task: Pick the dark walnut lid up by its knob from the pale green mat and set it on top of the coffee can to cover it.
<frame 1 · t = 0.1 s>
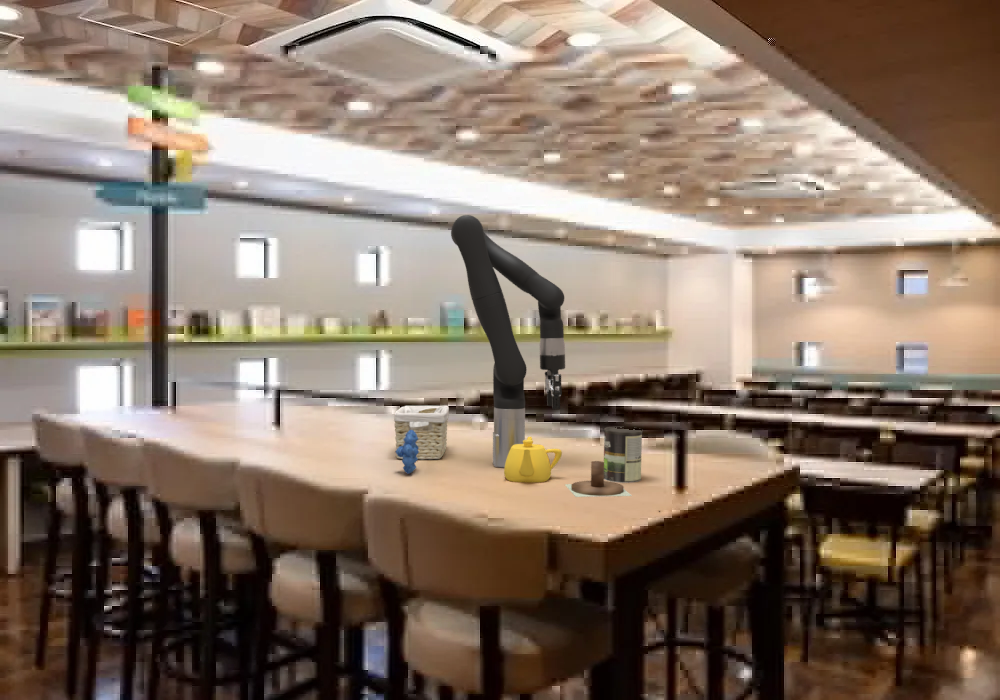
hand: (553, 407, 227), 17 cm above the table, tool pointing down, fingers open, 8 cm apart
teapot: (532, 480, 206), on the table
grapes: (407, 473, 214), on the table
lid: (597, 489, 191), point 1 cm above the table, touching mat
coffee can: (622, 481, 205), on the table
storage basket: (422, 454, 245), on the table
mat: (597, 492, 192), on the table
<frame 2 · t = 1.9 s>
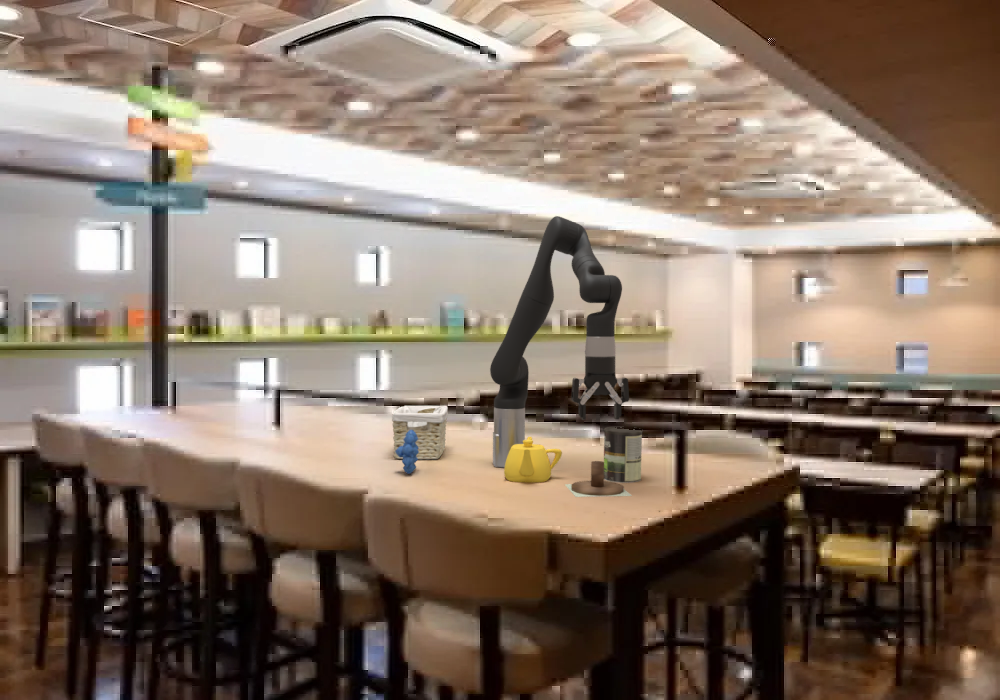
hand: (600, 419, 191), 18 cm above the table, tool pointing down, fingers open, 8 cm apart
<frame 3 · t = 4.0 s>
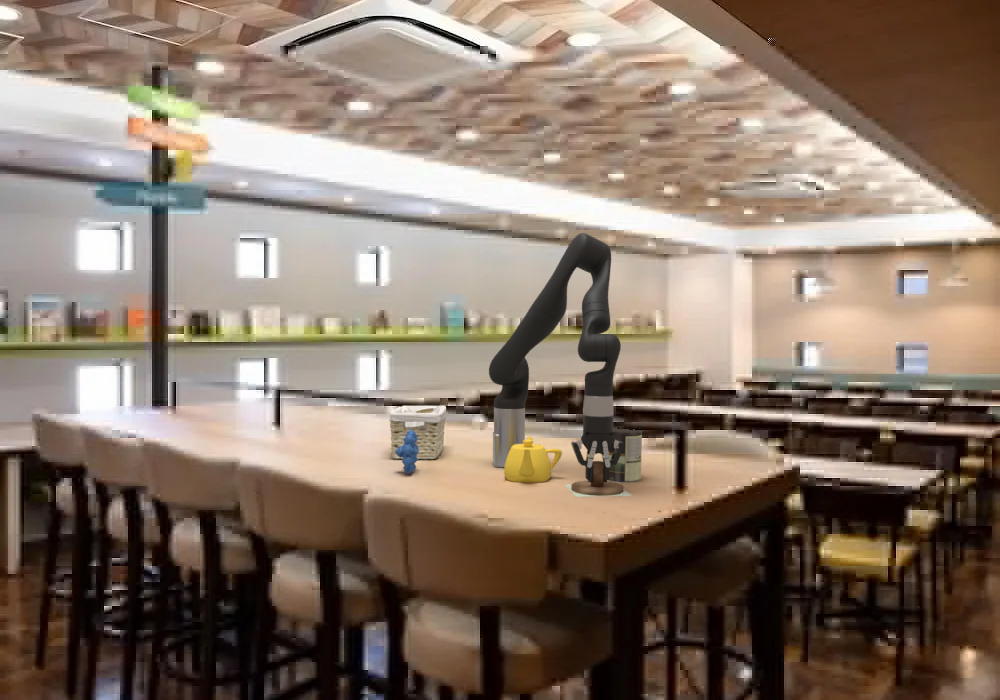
hand: (597, 481, 191), 3 cm above the table, tool pointing down, fingers closed on lid, 3 cm apart
lid: (597, 489, 191), point 1 cm above the table, touching gripper, mat
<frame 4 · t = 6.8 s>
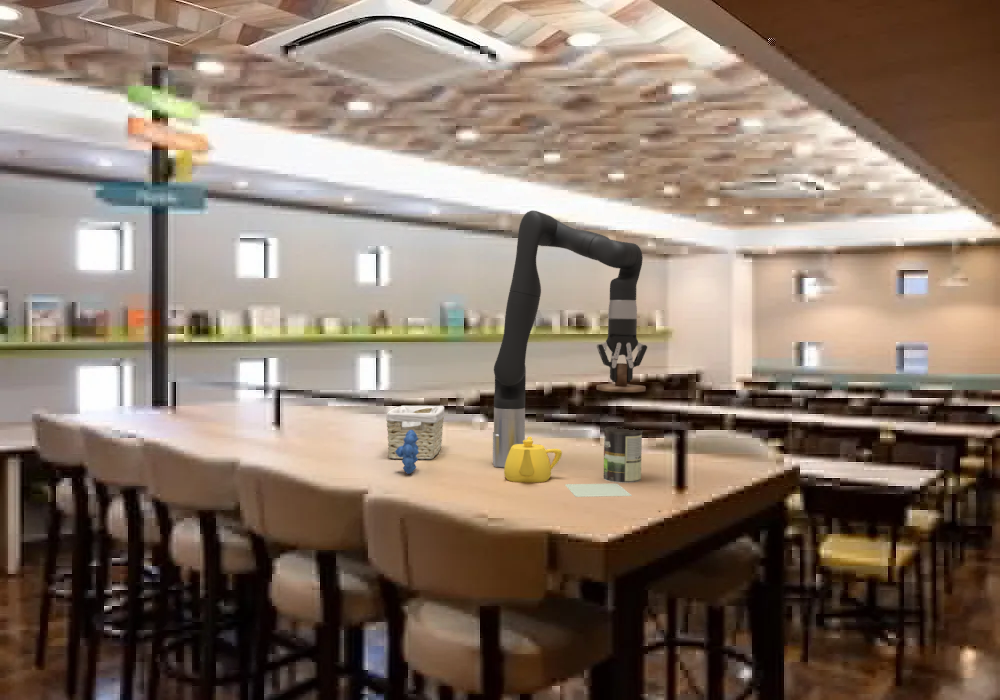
hand: (621, 381, 203), 27 cm above the table, tool pointing down, fingers closed on lid, 3 cm apart
lid: (620, 389, 203), point 25 cm above the table, touching gripper
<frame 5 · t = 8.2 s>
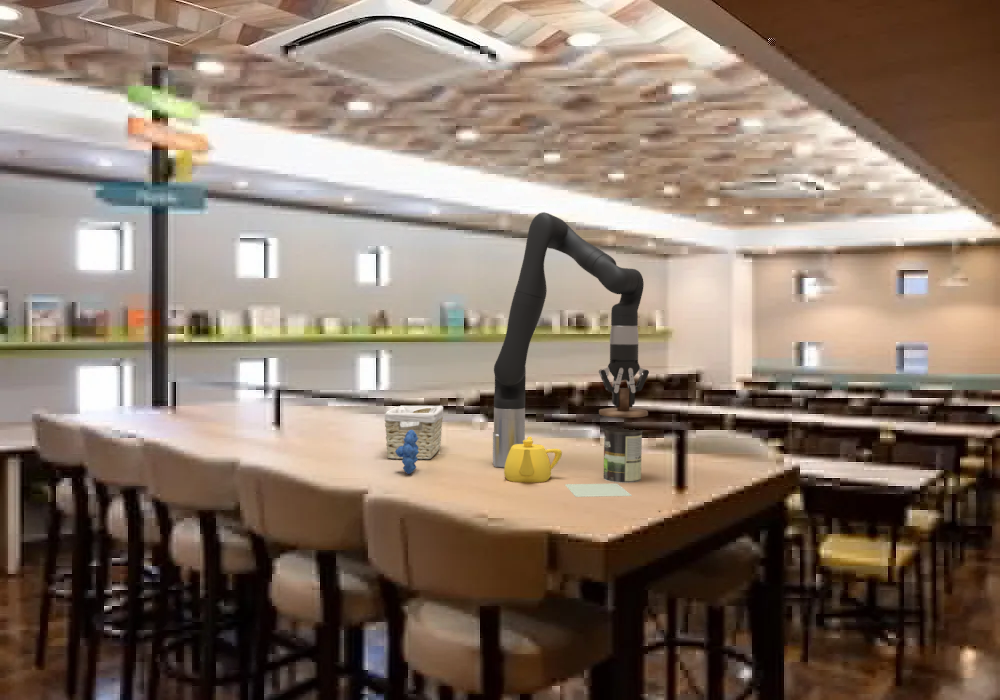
hand: (623, 406, 205), 20 cm above the table, tool pointing down, fingers closed on lid, 3 cm apart
lid: (623, 414, 205), point 18 cm above the table, touching gripper
when the fingers open (17 cm above the table, at t = 9.5 s): lid stays where it is, resting on coffee can.
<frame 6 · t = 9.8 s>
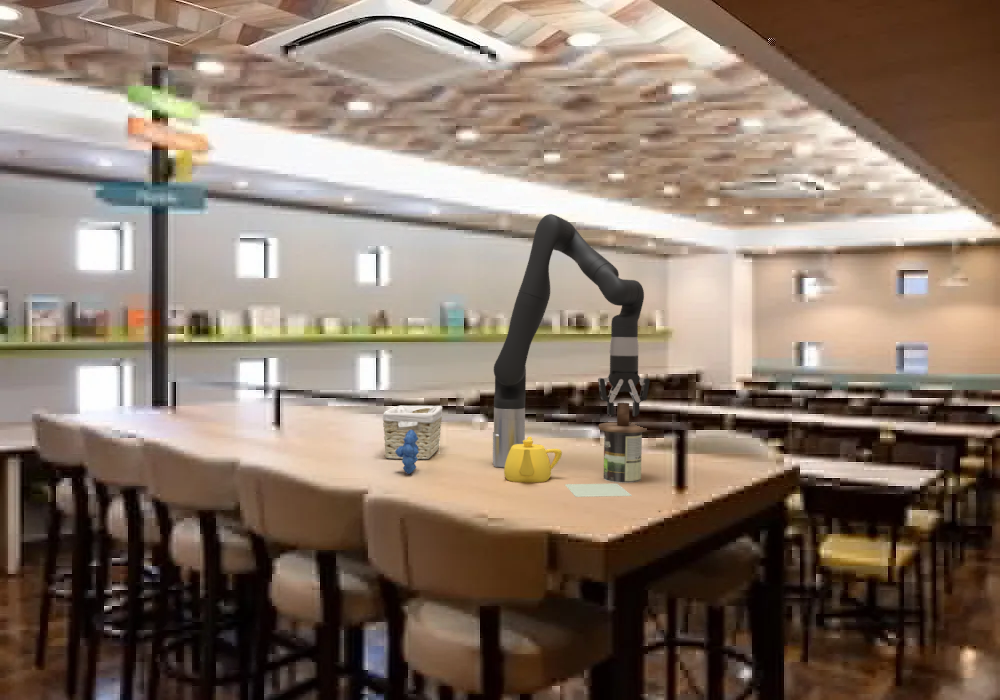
hand: (623, 416, 205), 18 cm above the table, tool pointing down, fingers open, 6 cm apart
lid: (622, 429, 205), point 14 cm above the table, touching coffee can
coffee can: (622, 481, 205), on the table, touching lid
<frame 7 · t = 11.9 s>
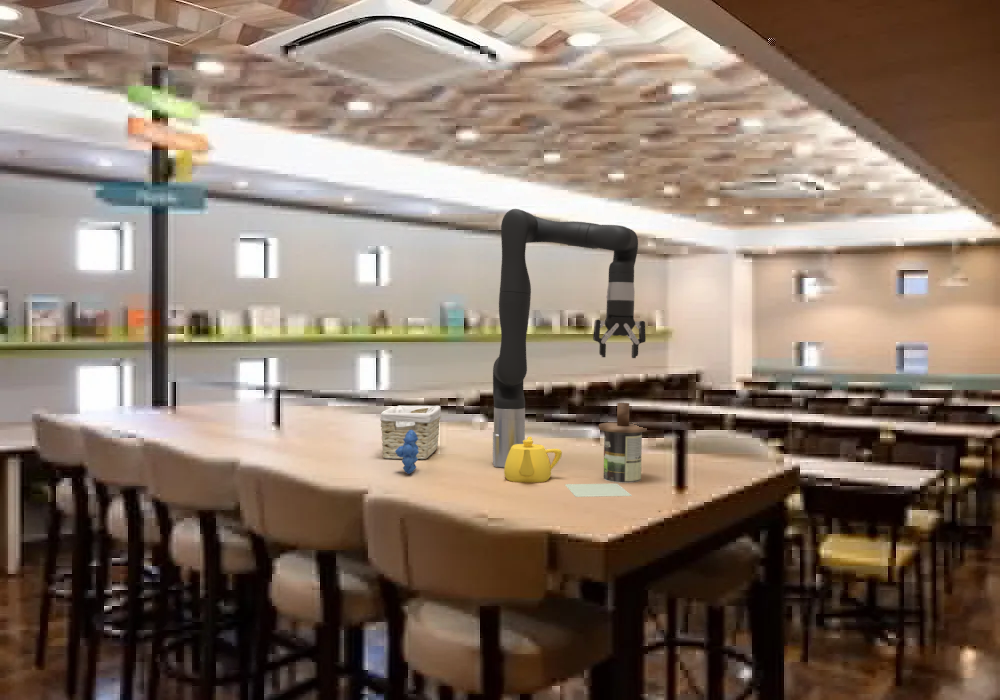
hand: (618, 357, 211), 33 cm above the table, tool pointing down, fingers open, 8 cm apart
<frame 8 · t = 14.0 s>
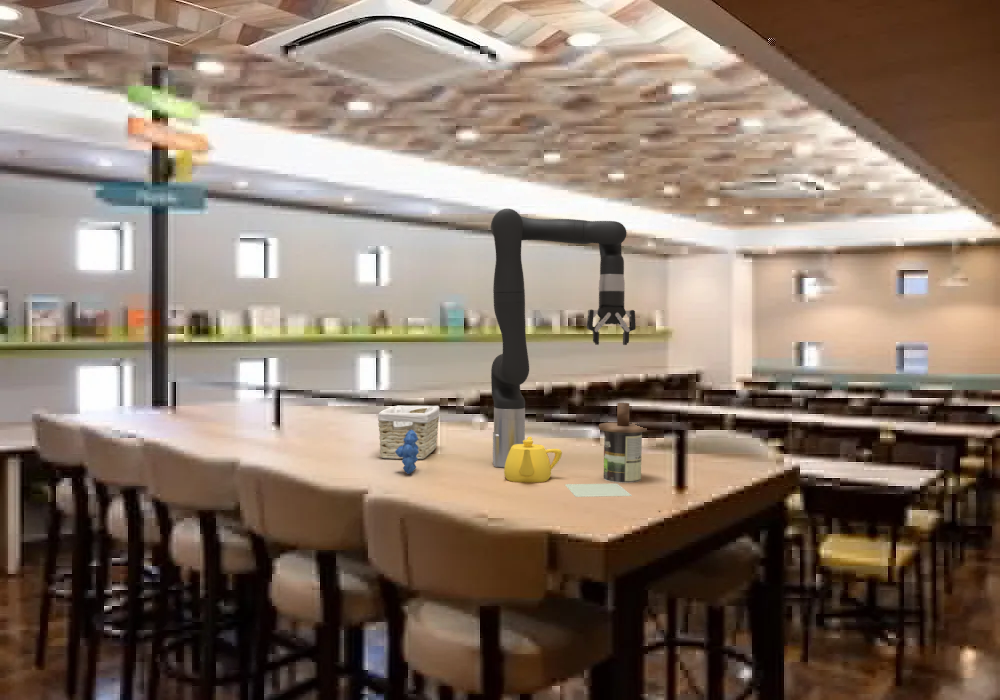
hand: (610, 344, 226), 36 cm above the table, tool pointing down, fingers open, 8 cm apart
at the end: lid inside the target area on the coffee can (0.0 cm from its centre), point 14.3 cm above the coffee can's base; coffee can tilted 0°; the gripper is holding nothing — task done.
